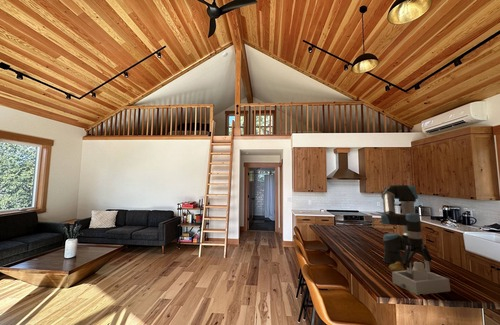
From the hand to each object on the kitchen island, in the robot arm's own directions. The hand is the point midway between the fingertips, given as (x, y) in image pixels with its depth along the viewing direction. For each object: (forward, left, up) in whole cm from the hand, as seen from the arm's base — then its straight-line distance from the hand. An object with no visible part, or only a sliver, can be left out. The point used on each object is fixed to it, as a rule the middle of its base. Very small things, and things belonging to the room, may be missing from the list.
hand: (418, 272), depth 136 cm
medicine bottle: (0, +1, -6) cm, 6 cm away
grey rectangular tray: (0, 0, -9) cm, 9 cm away
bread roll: (-20, +3, -9) cm, 22 cm away
